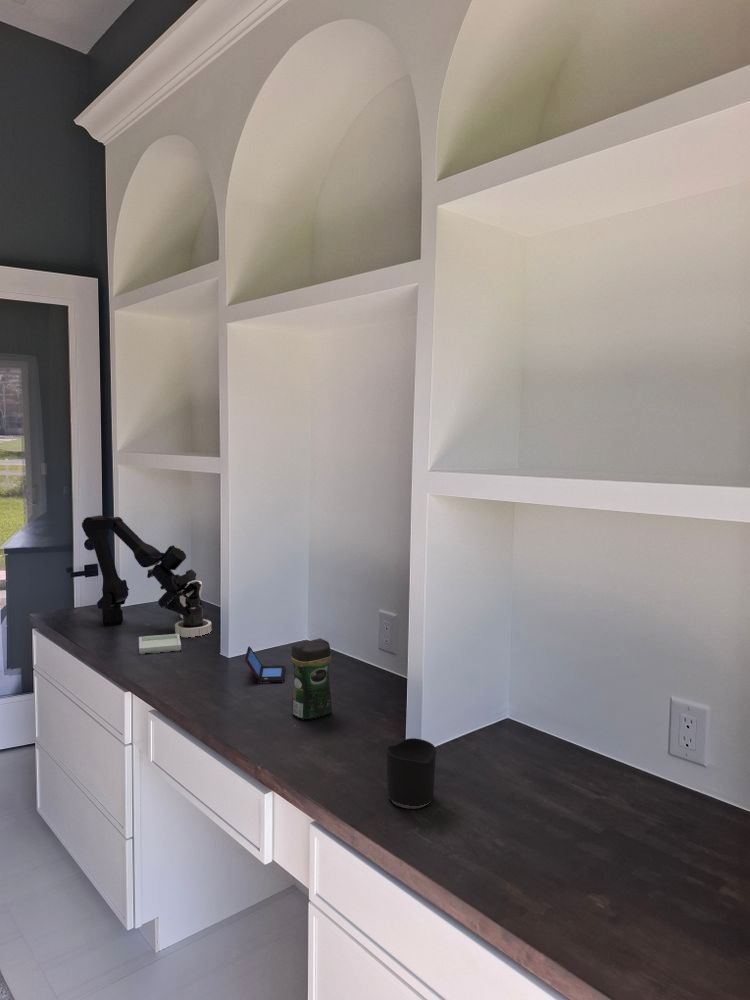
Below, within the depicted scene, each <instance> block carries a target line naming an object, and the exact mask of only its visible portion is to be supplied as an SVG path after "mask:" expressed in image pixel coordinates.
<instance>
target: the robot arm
mask: <svg viewBox="0 0 750 1000" xmlns="http://www.w3.org/2000/svg"><path fill="white" fill-rule="evenodd" d="M81 527H82V529H83V533H84V534H85V536H86V537H87V538H88V539H89V540H90V542H92V545H93V549H94V551H95V552H94V553H95V556H96V559H97V562H98V566H99V569H100V573H101V575H102V580H103V583H102V587H101V591H102V597H101V598H100V599H99V600H98V601H97V602H96V606H97V608H98V609H101V611H102V612H101V613H102V614H101V615H102V624H101V625H102V626H116V625H122V623H123V621H124V610H123V609H124V608H122V605H125V603H126V599H128V596H129V591H130V589H129V587H128V584H127V582H128V581H127V580H126V579H121V577H119V575H118V571H117V568H116V565H115V562H114V558H113V555H112V550H111V547H110V545H109V541H108V534H109V529H110V530H111V531H112V532H113V533H114V534H115V536H117V537H118V538H119V539H120V540H121V541H122V542H123V543H124V544H125V546H127V547H128V548H129V550H131V551H132V553H133V556H134V559H135V561H137V563H138V564H139V566H140V567H142V568H150V567H152V568H150V569H147V576H146V578H147V579H150V578H153V577H154V578H155V580H156V581H157V582H158V583H159V584H160V585H161V586H159V587H160V590H165V591H166V592H164V594H162V595H161V597H159V599H158V600H157V604H158V606H159V607H160V608H161V609H163V608H164V609H165V610H169V611H173V612H174V613H176V614H179V615H180V614H181V615H184V616H186V617H188V616H189V614H188V612H187V610H186V609H185V608H184V606H183V605H182V603H181V602H180V596H184V597H185V598H188V597H199V598H200V596H199V590H200V587H201V584H200V583H199V582H196V581H197V579H196V578H197V573H196V572H195V570H193V569H188V570H186V571H185V574H183V575H180V574H175V573H174V572H173V571H176V570H177V569H178V568H179V567H180V566H181V565H182V563H183V562H184V561H185V560H186V559H187V555H186V553H185V552H184V550H181V548H178V547H175V545H173V544H172V545H170V546H169V547H167V549H166V551H165V552H161V551H160V550H158V549H157V548H156V547H154V546H153V545H152V544H149V543H146V542H144V541H143V540H142V539H141V538H140V537H139V536H138V535H137V534H136V533H135V531H133V530H132V529H131V528H130V526H128V525H127V523H126V522H124V519H122V517H120V516H111V517H110V516H109V517H105V516H104V515H101V514H98V515H93V516H87V517H85V518H84V519H83V520H82V522H81ZM153 566H154V567H153ZM194 580H196V581H195V582H192V583H190V584H189V585H188V582H191V581H194ZM187 585H188V586H187ZM186 586H187V587H186ZM185 587H186V588H185ZM199 605H201V606H202V607H203V610H204V605H203V602H202V600H201V599H200V603H199Z"/></svg>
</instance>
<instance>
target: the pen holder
mask: <svg viewBox="0 0 750 1000" xmlns="http://www.w3.org/2000/svg"><path fill="white" fill-rule="evenodd" d="M436 748H437V747H436V746H435V745H434V744H433V743H431V742H429V741H428V740H425V739H420V738H413V737H411V738H406V739H404V740H402V741H399V742H398V743H396V744H392V745H387V746H386V775H387V776H386V778H387V780H386V781H387V782H386V783H387V797H388V796H389V797H390V799H391V800H393V801H395V802H397V803H400V804H403V805H409V806H420V805H424V804H427V803H429V802H430V801H431V800H432V799H434V793H435V792H434V791H435V775H436V757H437V755H436V754H437V749H436ZM432 801H433V800H432Z"/></svg>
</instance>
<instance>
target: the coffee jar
mask: <svg viewBox="0 0 750 1000" xmlns="http://www.w3.org/2000/svg"><path fill="white" fill-rule="evenodd" d="M331 652H332V651H331V645H330V643H329V641H327V640H326V639H324V638H321V637H319V638H317V639H312V640H307V641H302V642H295V643H293V644H292V645H291V653H290V654H291V658H290V660H291V662H292V665H293V675H294V676H293V686H292V687H293V689H292V691H293V692H292V701H291V712H292V714H293V716H294V715H295V716H297V717H299V718H303V719H302V720H304V719H310V718H315V717H319V718H321V717H320V716H322V717H325V716H328V715H330V714H331V713H332V711H333V710H332V709H333V708H332V706H333V704H332V703H333V702H332V694H331V686H330V673H329V671H330V670H329V667H330V663H331V658H332V653H331ZM329 713H330V714H329ZM327 714H328V715H327ZM324 715H325V716H324ZM295 716H294V717H295ZM297 717H296V718H297ZM299 718H298V719H299ZM315 719H316V718H315Z"/></svg>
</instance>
